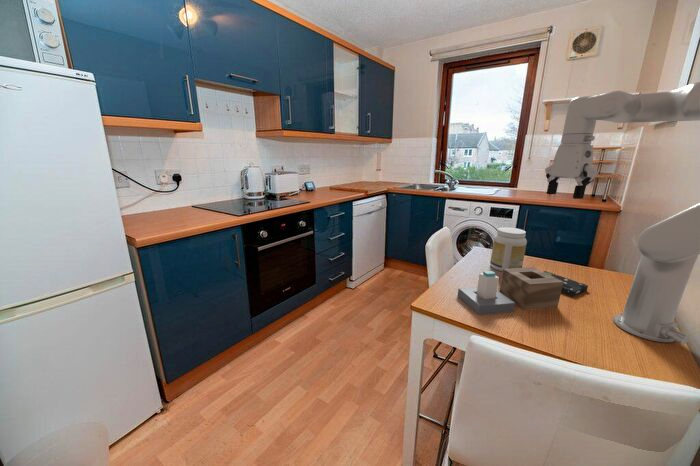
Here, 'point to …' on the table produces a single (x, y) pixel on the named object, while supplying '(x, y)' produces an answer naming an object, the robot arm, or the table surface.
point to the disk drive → (570, 286)
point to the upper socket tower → (531, 288)
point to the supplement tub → (508, 248)
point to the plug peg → (487, 285)
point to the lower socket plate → (485, 302)
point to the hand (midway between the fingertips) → (563, 196)
